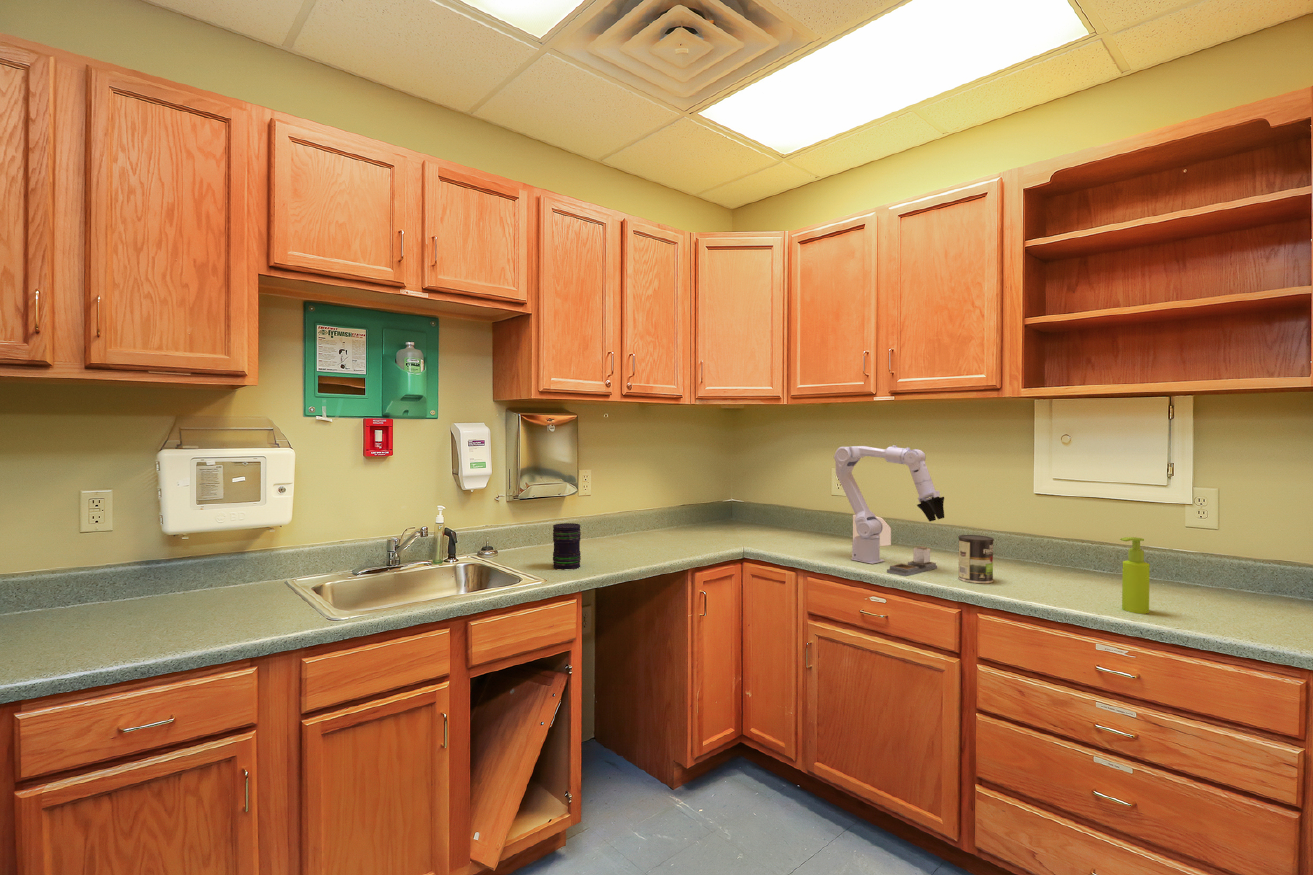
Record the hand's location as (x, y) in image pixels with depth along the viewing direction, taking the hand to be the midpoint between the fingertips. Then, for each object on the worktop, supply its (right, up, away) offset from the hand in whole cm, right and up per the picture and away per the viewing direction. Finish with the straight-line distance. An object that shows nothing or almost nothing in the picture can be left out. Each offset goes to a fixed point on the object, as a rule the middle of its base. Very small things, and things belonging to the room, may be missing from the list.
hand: (936, 519), depth 217 cm
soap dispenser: (+33, -19, -46) cm, 60 cm away
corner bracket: (-4, -18, +53) cm, 56 cm away
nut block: (-3, -17, +6) cm, 18 cm away
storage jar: (-129, -18, +7) cm, 131 cm away
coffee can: (+8, -18, -11) cm, 23 cm away
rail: (-8, -18, +2) cm, 20 cm away
